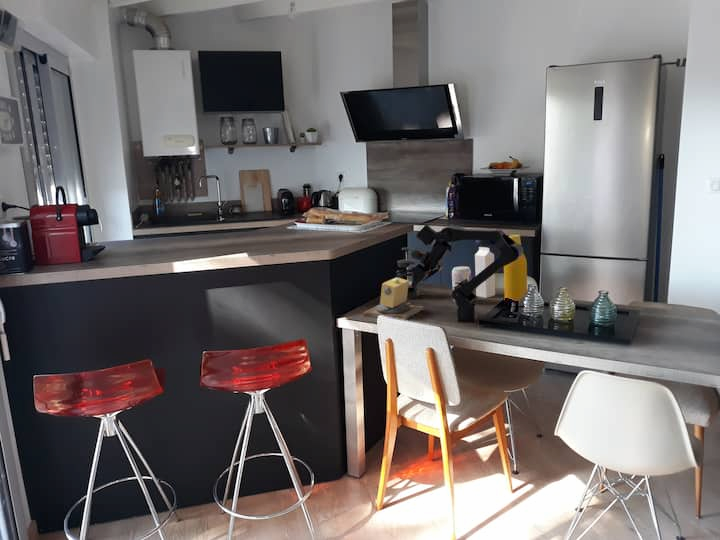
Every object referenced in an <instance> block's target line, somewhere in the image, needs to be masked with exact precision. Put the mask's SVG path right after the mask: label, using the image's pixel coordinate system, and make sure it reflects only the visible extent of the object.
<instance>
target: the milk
mask: <svg viewBox="0 0 720 540" xmlns="http://www.w3.org/2000/svg"><path fill="white" fill-rule="evenodd" d="M490 250H491V249H490V247H484V246H479V247H478V250H477V252H476V253H475V254H474V264H475V265H474V268H475V276H476V275H478V274H479V273H480V272H481V271H483V270H484V269H485V268H486V267H488V266H489V265H490V264H491V263H493V262H494V261H495V254H494V253H493V252H492V251H490ZM495 275H496V273H495V274H493V275H492V276H491V277H489V278H488V279H487V280H486V281H484V282H483V283H482V284H481V285H479V286H478V287H477V289H476V290H475V295H476V296H477V297H480V298H485V299H487V298H491V297H494V296H496V281H495V279H496V276H495Z"/></svg>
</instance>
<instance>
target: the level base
mask: <svg viewBox="0 0 720 540" xmlns="http://www.w3.org/2000/svg"><path fill="white" fill-rule="evenodd" d="M423 309H425V308H424V306H423V305H411V302H410V301H405V302H403V303H401V304H399V305H397V306H395V307H393V308H391V307H388V306H385V305H381V304H380V303H379V304H378V305H376V306H373V307H372V308H369V309H367V310H365V311H363V313H362V314H363V317H368V318H369V317H370V318H372V317H373V318H378V317H377V316H378V315H380V314H383V315H388V316H393V317H399V318H406V319H407V318H408V317H410V316H412V315H414V314H416V313H417V312H419V311H421V310H422V311H424V310H423ZM422 311H421V312H422ZM419 313H420V312H419ZM417 314H418V313H417ZM417 314H416V315H417ZM414 316H415V315H414ZM412 317H413V316H412ZM407 320H408V319H407Z"/></svg>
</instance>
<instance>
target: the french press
mask: <svg viewBox="0 0 720 540" xmlns="http://www.w3.org/2000/svg"><path fill="white" fill-rule="evenodd" d="M401 250H403V251H404V252H405V259H400V260H397V261H396V263H397V265H398V268H406V269H402V270H396V271H395V272H396V273H395V274H396V276H395V278H396V277H398V278H401V279H404V277H407V279H406V280H408V281H409V285H408V292H407V298H414V299H417V298H419V297H420V295H419V288H417V287H418V284H417V285H415V286H414V287H412V286H411V284H412V280H409V277H412V278H413V276H414V274H413V272H412V271H411V268H409V269H408V267H409V266H411V265H416V264H417V259H415V258H414V259H413V258H411V259H409V258H408V255H407V254H408V250H411V247H401ZM418 296H419V297H418ZM416 297H417V298H416Z"/></svg>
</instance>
